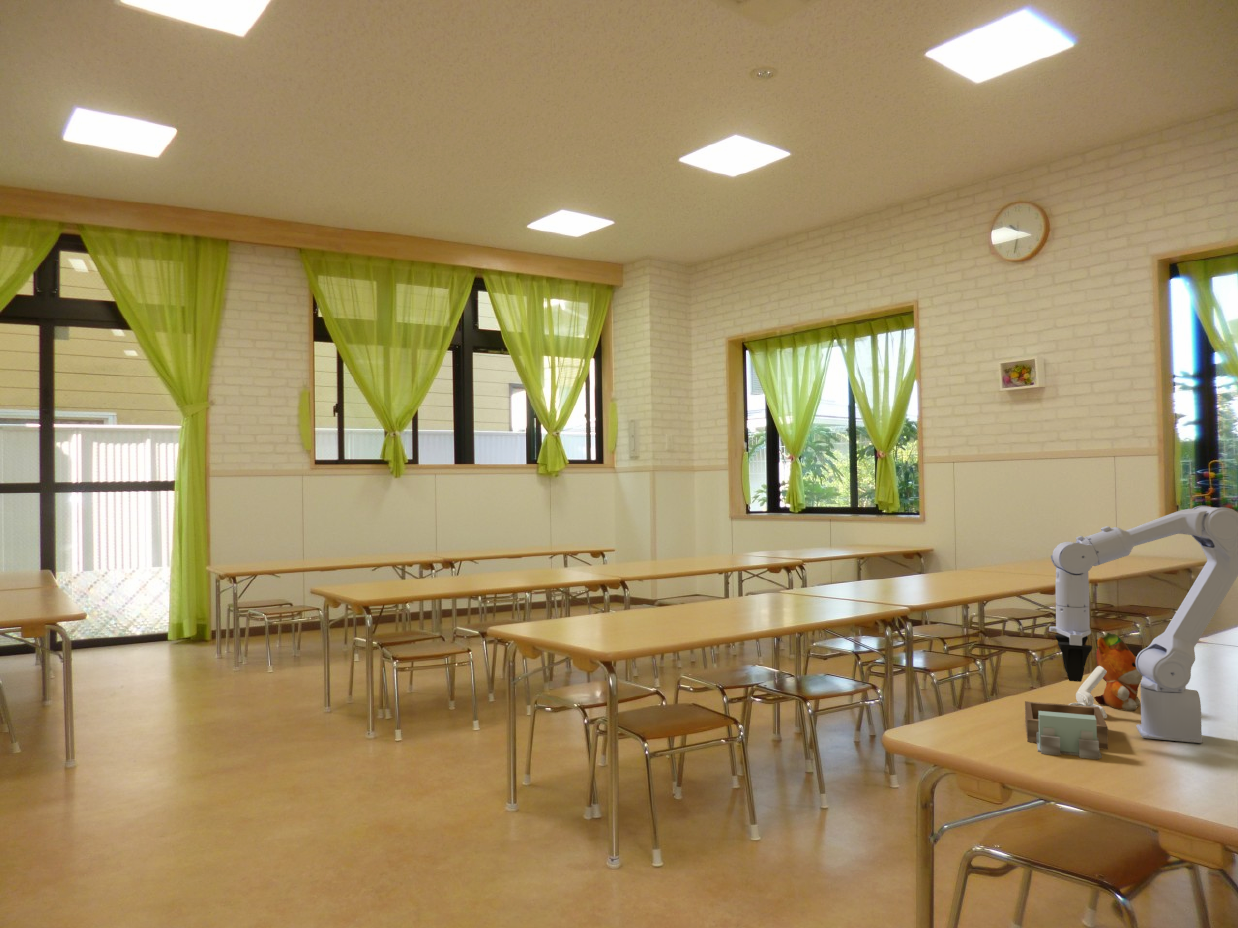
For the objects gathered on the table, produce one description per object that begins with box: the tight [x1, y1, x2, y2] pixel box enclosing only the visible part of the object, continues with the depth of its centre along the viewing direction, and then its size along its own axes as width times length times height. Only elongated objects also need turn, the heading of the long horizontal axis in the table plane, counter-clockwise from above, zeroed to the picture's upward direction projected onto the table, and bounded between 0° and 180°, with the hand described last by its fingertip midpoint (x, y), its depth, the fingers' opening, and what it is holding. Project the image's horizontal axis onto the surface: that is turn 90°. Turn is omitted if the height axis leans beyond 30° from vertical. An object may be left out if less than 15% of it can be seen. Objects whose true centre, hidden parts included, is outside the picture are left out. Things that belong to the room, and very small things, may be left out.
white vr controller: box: [1067, 665, 1108, 720], centre depth 180 cm, size 8×12×7 cm
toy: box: [1093, 632, 1143, 712], centre depth 187 cm, size 11×9×15 cm
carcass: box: [1024, 700, 1109, 760], centre depth 163 cm, size 13×21×4 cm, turn 157°
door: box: [1038, 711, 1097, 753], centre depth 157 cm, size 9×3×6 cm, turn 67°
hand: (1073, 676), depth 169 cm, fingers open, 7 cm apart
